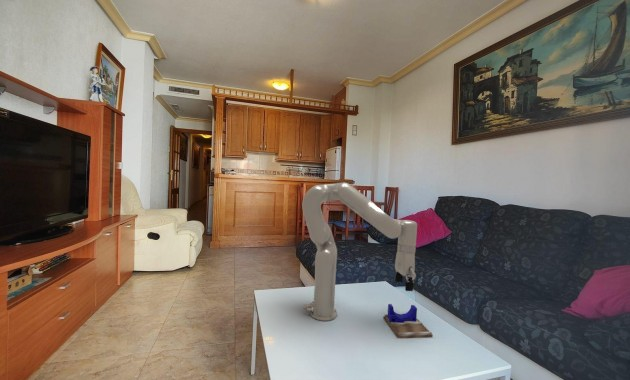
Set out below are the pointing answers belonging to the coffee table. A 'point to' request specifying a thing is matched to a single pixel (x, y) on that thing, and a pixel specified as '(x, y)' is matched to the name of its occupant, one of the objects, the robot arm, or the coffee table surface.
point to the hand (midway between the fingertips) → (403, 286)
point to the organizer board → (408, 329)
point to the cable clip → (402, 315)
